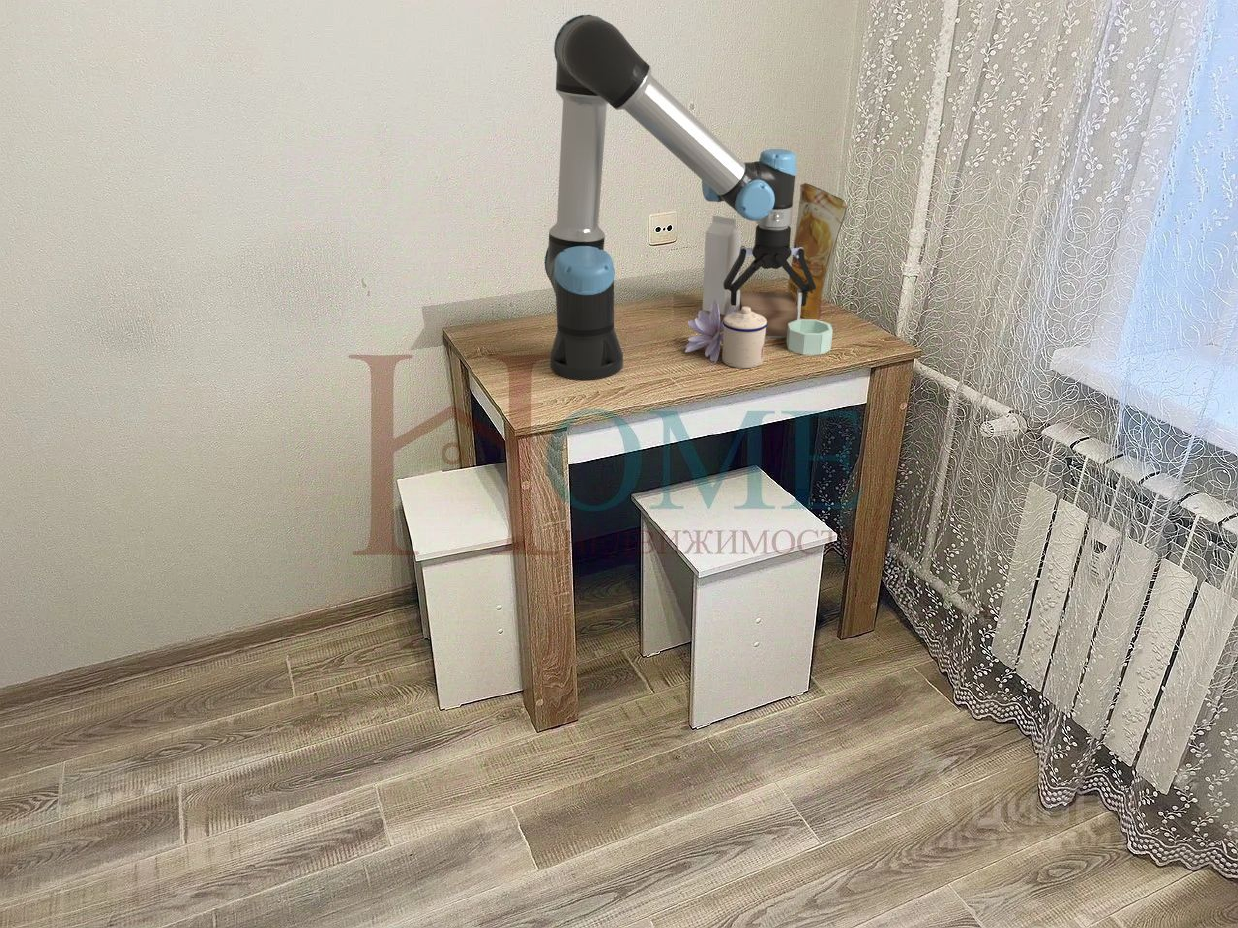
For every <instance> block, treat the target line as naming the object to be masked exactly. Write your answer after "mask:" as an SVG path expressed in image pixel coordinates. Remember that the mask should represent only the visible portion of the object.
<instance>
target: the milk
mask: <svg viewBox="0 0 1238 928" xmlns="http://www.w3.org/2000/svg"><path fill="white" fill-rule="evenodd" d="M711 221H712V222H711V224H710V225H709V226H708V228H707V230H706V232H705V242H704V245H705V246H704V263H703V264H704V268H703V293H702V295H703V296H702V311H705V312H709V313H710V309H711V304H712V301H713V300H714V299H715V300H716V301H717V304H718V307H719V313H720V315H723V316H725V315H726V313H727V312H728V311H729V310H730V309H731V308H733V307H735V306H732V305H731V291H730V290H725V289H724V285H723V283H724V281H725V279H726V277H727V276H728V274H729V272H730V270H731V268H732V267H733V265H734V263H735V261H736V260H737V258H738V256H739V252H740V247H741V239H742V237H741V236H742V230H741V229H740V228H739V227H737V225H736V219H735V218H731V217H723V216H718V215H713V216H712V220H711ZM738 278H739V272H738V273H737V275H736V277H735V279H734V280H733V282H732V284H733V283H734V282H735V281H736V280H737V279H738Z"/></svg>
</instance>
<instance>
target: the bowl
mask: <svg viewBox="0 0 1238 928" xmlns="http://www.w3.org/2000/svg"><path fill="white" fill-rule="evenodd" d="M833 331H834V329H833V326H832V324H831V323H829V322H826V321H822V320H820V319H819V320H816V319H804V318H800V319H798V320H795V321H793V322H790V323H788V331H787V338H786V342H785V343H786V347H787V350H789V351H791V352H793V353H795V354H799V355H804V356H821V355H823V354H826V353H828V352H830V351H831V349H832V341H833V340H832V339H833V333H834V332H833Z"/></svg>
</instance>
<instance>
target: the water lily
mask: <svg viewBox="0 0 1238 928" xmlns="http://www.w3.org/2000/svg"><path fill="white" fill-rule="evenodd" d="M731 313H735V307H733V308H731V309H730V310H729V311H728V312H727V313H726V314H725V315H723V318H722V321H721V316H720V315H721V314H720V313H719V307H718V304H717V301H716V300H715V299H714V300H713V301H712V304H711V309H710V312H709V313H708V312H707V311H705V310H699V311H698V314H697V317H696V318H695V319H690V320H688V322H687V325H688V326H689V328H690V329H691V330H692V331H694V332H695V333H698V334H699V335H693V336H690V337H689V338H688V339H687V341H689V342H688V343H687V344H686V345H685V347H684V348H685V351H684V353H691V352H694V351H698V350H700V349H702V348H704V347H705V346H706V349H705V353H704V355H705V357H709V360H710V363H711V364H712V365H713V366H714V365H715V364H716V363H717V362H718V359H719V356H720V353H721V344H722V345H723V342H724V341H723V331H724V325H723V320H724V318H725V317H726V316H727V315H729V314H731ZM707 345H708V346H707Z"/></svg>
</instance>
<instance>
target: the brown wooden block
mask: <svg viewBox="0 0 1238 928" xmlns="http://www.w3.org/2000/svg"><path fill="white" fill-rule="evenodd" d="M742 307H750V309H751V311H752V312H754V313H756V314H759V315H762V316H763V317H765V318H766V320H767V326H766V334H765V336H787V331H788V323H790V322H793V321H795V320H797V317H798V309H797V306H796V303H795V300H794V297H793V294H792V292H788V291H740V307H739V311H741V308H742Z"/></svg>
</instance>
